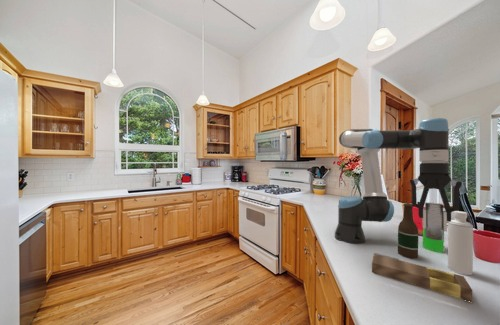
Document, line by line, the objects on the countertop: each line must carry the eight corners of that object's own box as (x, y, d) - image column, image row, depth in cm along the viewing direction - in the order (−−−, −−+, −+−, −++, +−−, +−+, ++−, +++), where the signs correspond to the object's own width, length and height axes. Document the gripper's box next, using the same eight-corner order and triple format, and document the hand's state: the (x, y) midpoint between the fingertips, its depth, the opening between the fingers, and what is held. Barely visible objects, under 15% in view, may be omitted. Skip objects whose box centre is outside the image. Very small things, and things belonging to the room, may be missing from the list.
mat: (372, 261, 83) (372, 260, 83) (374, 253, 90) (374, 252, 90) (398, 268, 78) (399, 267, 78) (398, 259, 85) (398, 258, 85)
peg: (426, 238, 67) (426, 203, 67) (424, 234, 71) (424, 202, 71) (444, 241, 64) (444, 205, 65) (442, 237, 68) (441, 203, 68)
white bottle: (476, 277, 72) (477, 211, 72) (451, 272, 75) (452, 208, 75) (467, 268, 78) (468, 207, 78) (444, 264, 81) (445, 205, 81)
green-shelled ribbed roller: (450, 253, 91) (451, 215, 91) (430, 251, 93) (431, 214, 93) (436, 245, 100) (436, 211, 100) (418, 243, 102) (418, 210, 102)
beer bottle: (413, 261, 83) (414, 206, 83) (393, 253, 90) (394, 202, 90) (422, 257, 87) (422, 204, 87) (402, 250, 94) (402, 201, 94)
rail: (371, 273, 74) (372, 262, 74) (373, 263, 81) (373, 253, 81) (472, 303, 59) (472, 290, 59) (463, 287, 66) (463, 276, 66)
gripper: (402, 162, 71) (402, 226, 70) (473, 162, 60) (475, 237, 59) (402, 163, 77) (402, 221, 76) (467, 162, 66) (468, 231, 65)
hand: (434, 228), depth 68 cm, fingers closed on peg, 4 cm apart
